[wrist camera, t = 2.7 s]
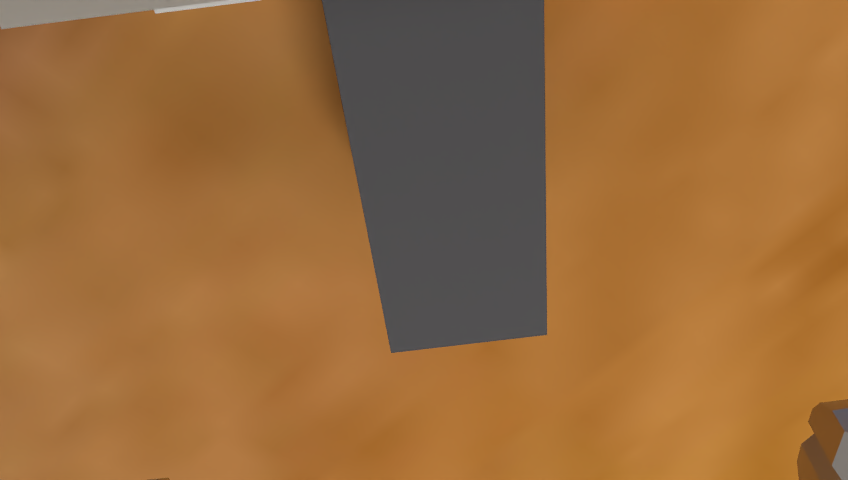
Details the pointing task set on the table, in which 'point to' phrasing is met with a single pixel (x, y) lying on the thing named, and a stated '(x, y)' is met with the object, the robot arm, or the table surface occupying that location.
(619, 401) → the table surface
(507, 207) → the long dark grey plank
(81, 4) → the grey and blue pillars
